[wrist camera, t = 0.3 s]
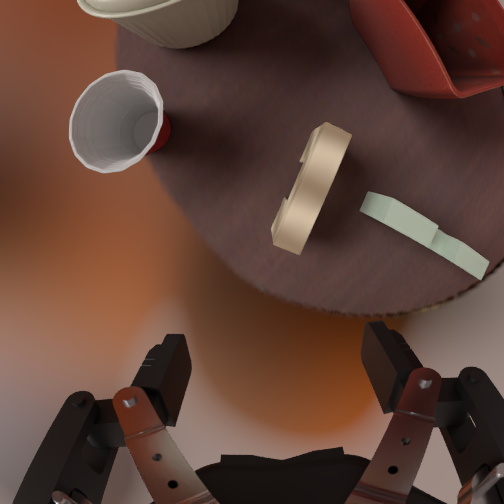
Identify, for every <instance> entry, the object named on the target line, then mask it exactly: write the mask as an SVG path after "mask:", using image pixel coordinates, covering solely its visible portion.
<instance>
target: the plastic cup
mask: <svg viewBox="0 0 504 504" xmlns="http://www.w3.org/2000/svg"><path fill="white" fill-rule="evenodd" d="M170 133H171V124H170V121H169V119H168V117H167V115H166V114H165V112H164V110H163V100H162V98H161V96H160V93H159V91H158V89H157V86H156V84H155V83H153V82H152V81H151V80H150V79H149V78H147V77H146V76H145V75H144V74H142V73H139V72H134V71H129V70H121V71H116V72H112V73H108V74H105V75H104V76H102V77H100V78H99V79H97V80H96V81H94V82H93V83H91V84H90V85H89V86H88V87H87V89H86V90H85V91H84V92H83V93H82V95H81V96H80V97H79V99H78V100H77V102H76V104H75V107H74V109H73V112H72V115H71V118H70V126H69V140H70V142H71V145H72V148H73V151H74V154H75V156H76V157H77V158H78V159H79V160H80V161H81V162H82V163H83V164H84V165H85V166H86V167H87V168H89V169H92V170H95V171H98V172H101V173H109V172H117V171H123V170H124V169H126V168H128V167H129V166H131V165H133V164H135V163H136V162H138V161H140V160H141V159H142V158H143V156H145V155H148V154H149V153H152V152H154V151H156V150H158V149H160V148H162V146H163V145H164V144H165V143H166V142H167V141H168V138H169V136H170Z"/></svg>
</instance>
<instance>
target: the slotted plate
mask: <svg viewBox="0 0 504 504" xmlns="http://www.w3.org/2000/svg"><path fill="white" fill-rule="evenodd" d="M351 136H352V134H350V133H348V132H346V131H344V130H342V129H340V128H338V127H336V126H334V125H332V124H330V123H327V122H325V123H324V124H322V125H321V126H319V127H318V128H316V129H315V130H313V131H312V133H311V135H310V138H309V140H308V143H307V145H306V147H305V150H304V152H303V154H302V157H301V159H300V162H301V163H303V165H302V167H301V170H300V172H299V174H298V177H297V179H296V181H295V184H294V186H293V189H292V191H291V193H290V196H289V198H286V197H284V199H283V202H282V204H281V206H280V209H279V211H278V213H277V216H276V218H275V220H274V223H273V225H272V227H271V231H272V237H273V243H274V245H276V246H278V247H281V248H283V249H286V250H288V251H291V252H293V253H295V254H298V255H300V253H301V251H302V249H303V247H304V245H305V242H306V240H307V238H308V236H309V234H310V232H311V229H312V227H313V225H314V223H315V221H316V218H317V216H318V214H319V212H320V209H321V207H322V205H323V203H324V200H325V198H326V196H327V193H328V191H329V189H330V186H331V184H332V182H333V180H334V177H335V175H336V172H337V170H338V168H339V165H340V163H341V161H342V158H343V156H344V153H345V151H346V148H347V146H348V144H349V141H350V139H351Z"/></svg>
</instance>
